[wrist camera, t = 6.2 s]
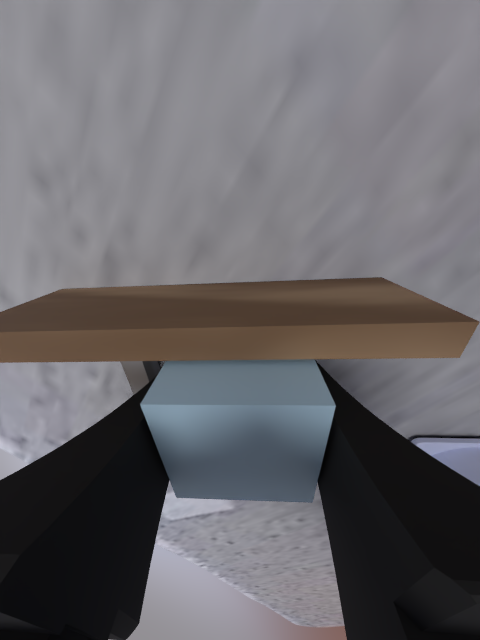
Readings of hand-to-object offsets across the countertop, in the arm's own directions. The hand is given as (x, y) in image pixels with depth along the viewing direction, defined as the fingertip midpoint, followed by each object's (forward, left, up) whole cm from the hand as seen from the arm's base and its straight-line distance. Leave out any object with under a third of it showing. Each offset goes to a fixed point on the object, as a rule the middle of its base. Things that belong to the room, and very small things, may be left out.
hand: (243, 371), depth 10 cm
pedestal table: (-1, +1, -2) cm, 3 cm away
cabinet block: (0, 0, -2) cm, 2 cm away
